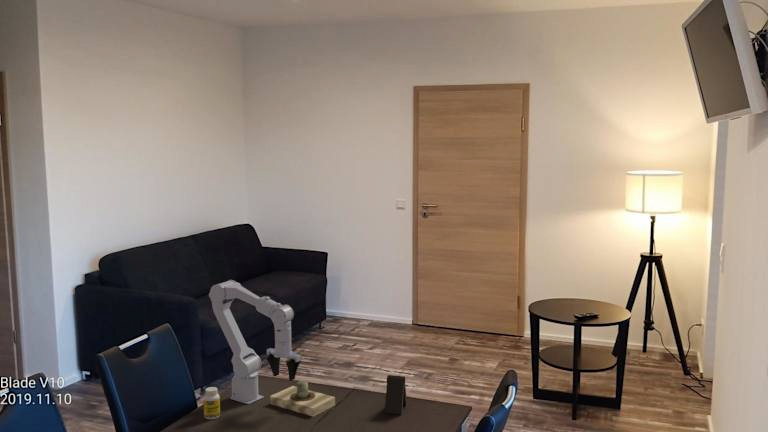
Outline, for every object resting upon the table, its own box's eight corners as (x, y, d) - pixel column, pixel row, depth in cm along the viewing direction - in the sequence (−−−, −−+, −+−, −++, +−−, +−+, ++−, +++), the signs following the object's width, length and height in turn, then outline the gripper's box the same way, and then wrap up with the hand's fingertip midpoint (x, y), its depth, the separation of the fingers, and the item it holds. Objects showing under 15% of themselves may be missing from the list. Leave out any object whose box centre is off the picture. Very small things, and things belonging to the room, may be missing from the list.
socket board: (270, 404, 240) (270, 395, 239) (293, 393, 249) (292, 385, 249) (313, 416, 228) (313, 407, 228) (335, 405, 238) (335, 396, 238)
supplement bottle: (206, 421, 225) (205, 392, 224) (202, 415, 230) (201, 387, 229) (222, 417, 228) (221, 390, 227) (218, 412, 233) (217, 385, 232)
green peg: (294, 405, 238) (294, 383, 237) (302, 401, 242) (301, 380, 241) (303, 407, 236) (302, 385, 235) (310, 404, 239) (310, 382, 238)
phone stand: (401, 415, 229) (401, 381, 228) (384, 413, 231) (384, 379, 229) (407, 405, 238) (407, 372, 237) (391, 403, 239) (390, 371, 238)
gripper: (260, 339, 236) (261, 376, 238) (290, 346, 228) (291, 385, 230) (274, 334, 242) (275, 371, 244) (304, 341, 234) (305, 379, 236)
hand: (284, 377), depth 237 cm, fingers open, 7 cm apart
